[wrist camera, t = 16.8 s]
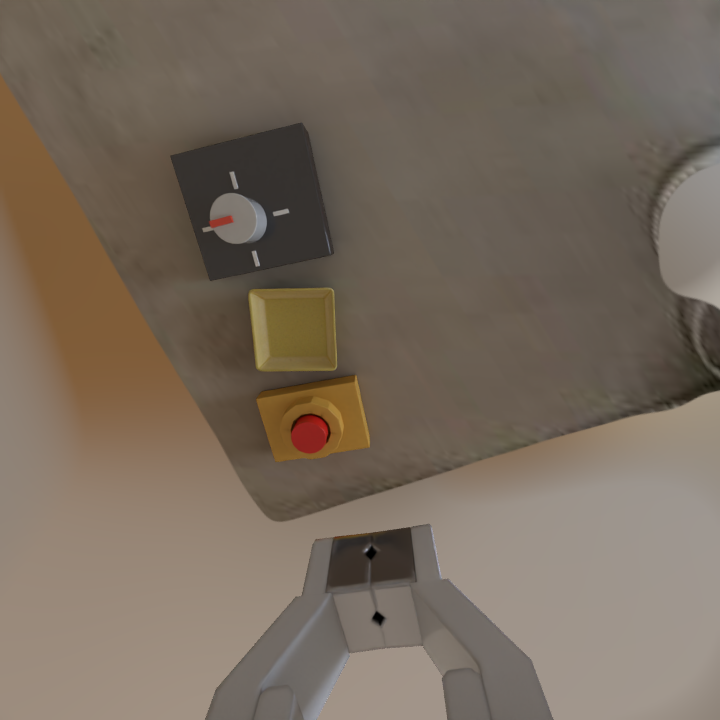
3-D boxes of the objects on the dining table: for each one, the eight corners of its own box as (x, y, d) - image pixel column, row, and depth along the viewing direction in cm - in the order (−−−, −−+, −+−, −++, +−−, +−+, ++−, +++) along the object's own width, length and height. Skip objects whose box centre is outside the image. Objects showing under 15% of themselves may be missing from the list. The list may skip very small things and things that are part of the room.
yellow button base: (356, 374, 41) (354, 388, 37) (369, 437, 43) (369, 456, 40) (261, 391, 42) (250, 406, 38) (280, 452, 45) (271, 471, 41)
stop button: (323, 411, 39) (321, 419, 37) (331, 442, 40) (329, 450, 38) (290, 417, 39) (286, 425, 37) (299, 447, 40) (295, 456, 38)
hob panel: (308, 132, 34) (301, 121, 31) (334, 253, 37) (330, 255, 34) (186, 162, 35) (168, 155, 32) (222, 278, 39) (209, 281, 36)
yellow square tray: (253, 286, 39) (246, 289, 37) (336, 285, 38) (333, 287, 36) (261, 365, 41) (255, 371, 39) (339, 364, 41) (337, 371, 39)
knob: (259, 191, 33) (246, 186, 30) (272, 237, 34) (262, 237, 31) (217, 203, 33) (200, 199, 30) (232, 248, 35) (217, 249, 31)
